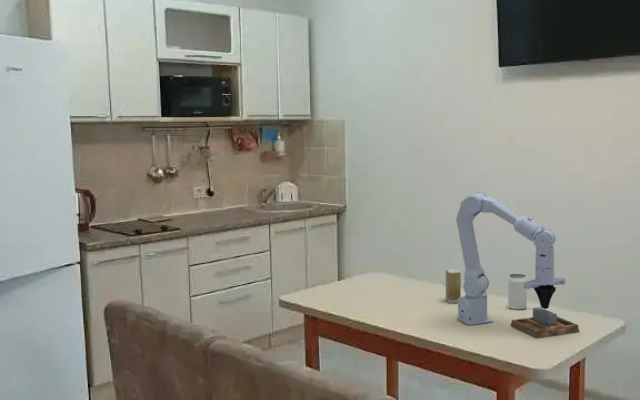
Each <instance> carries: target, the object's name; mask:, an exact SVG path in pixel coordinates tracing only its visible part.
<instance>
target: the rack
mask: <svg viewBox="0 0 640 400" xmlns="http://www.w3.org/2000/svg"><path fill="white" fill-rule="evenodd" d="M510 327H512V328H514V329H516V330H518V331H520V332H522V333H524V334H527V335H529V336H530V337H532V338H536V339H541V338H543V339H544V338H546V337H547V338H548V337H554V336H561V335H569V334H576V333H580V328H579V324H578V323H575V322H572V321H570V320H567V319H564V318H562V317H560V316H557V326H551V327H550V328H549V327H547V326H545V325H542V324H540V323H538V322H535V321H533V316H530V317H523V318H518V319H517V318H516V319H512V320H511V322H510Z"/></svg>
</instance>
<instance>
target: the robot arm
mask: <svg viewBox="0 0 640 400" xmlns="http://www.w3.org/2000/svg"><path fill="white" fill-rule="evenodd" d="M480 213H482V214H483V213H485V214H487V213H492V214H494V215H495V216H498V217H499V218H501V219H502V220H505V221H506V222H508V223H509V224H510V225H513V228H514V231H515V232H516V233H518V234H520V235H521V236H523V237H524V238H526V239H527V240H529V241H530V242H533V244H534V246H535V266H534V267H535V273H534V274H535V275H534V276H535V278H534V279H531V280H527V282H524V288H526V289H527V290H531V289H533V290H534V291H535V293H536V295H537V298H538V300H539V301H538V302H539V304H540V308H542V309H545V310H547V309H549V306H550V302H551V300H552V297H553V295H554V293H555V292H556V289H557V288H556V287H555V286H558V285H562V286H563V285H566V278H564V277H555V252H554V251H555V248H554V247H555V246H554V244H555V242H556V241H557V240H556V237H557V236H556V235H555V232H553V231H552V229H550V228H546V227H545V226H543V225H540V224H538V223H537V222H535V221H533V218H532V217H531V216H525V215H524V216H523V215H522V216H519V215H517V214H516V213H514V212H513V211H512V210H510V209H509V208H508V207H506V206H504V205H503V204H502V203H500V202H499V201H497V200H496V199H494V198H493V197H492V196H490V195H487V194H486V193H485V192H481V191H478V192H475V193H473V194H469V195H467V196H465V198H463V200H461V202H460V207H459V209H458V213H457V215H456V218H455V219H456V225H457V226H456V227H457V231H458V235H459V241H460V242H459V243H460V245H461V252H462V257H463V263H464V267H465V271H464V274H463V278H464V281H463V282H464V283H463V287H462V288H463V291H464V294H465V295H464V296H461V298H459V300H458V303H457V317H456V320H458V321H460V322H462V323H464V324H465V325H468V326H471V325H479V324H486V323H493V320H492V319H490V318H488V292H487V291H486V290H487V289H489V285H490V281H489V278H488V277H487V275H486V274H485V270H484V268H483V267H482V266H481V260H480V254H479V250H478V249H479V248H478V244H477V240H476V239H477V238H476V234H475V229H474V220H475V218H477V216H478V215H479V214H480Z"/></svg>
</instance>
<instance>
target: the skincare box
mask: <svg viewBox="0 0 640 400" xmlns="http://www.w3.org/2000/svg"><path fill="white" fill-rule="evenodd" d="M461 275H462V274H461V272H460V270H458V269H457V268H450V269H449V268H447V269H445V300H446V302H447V303H448V304H449V305H450V304H451V305H452V304H458V300H459V298H461V297H462V295H461V293H462V292H461V290H462V289H461V286H462V284H461V283H462V281H461V279H462V278H461V277H462V276H461Z"/></svg>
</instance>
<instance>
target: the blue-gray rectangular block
mask: <svg viewBox="0 0 640 400" xmlns="http://www.w3.org/2000/svg"><path fill="white" fill-rule="evenodd" d="M532 317H533V321H535V322H538V323H540V324H542V325H545V326H547V327H549V328H550V327H551V326H557V317H558V316H557V313H555V312H552V311H550V310H547V309H544V308H541V306H540V307H539V306H538V307H533V308H532Z"/></svg>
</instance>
